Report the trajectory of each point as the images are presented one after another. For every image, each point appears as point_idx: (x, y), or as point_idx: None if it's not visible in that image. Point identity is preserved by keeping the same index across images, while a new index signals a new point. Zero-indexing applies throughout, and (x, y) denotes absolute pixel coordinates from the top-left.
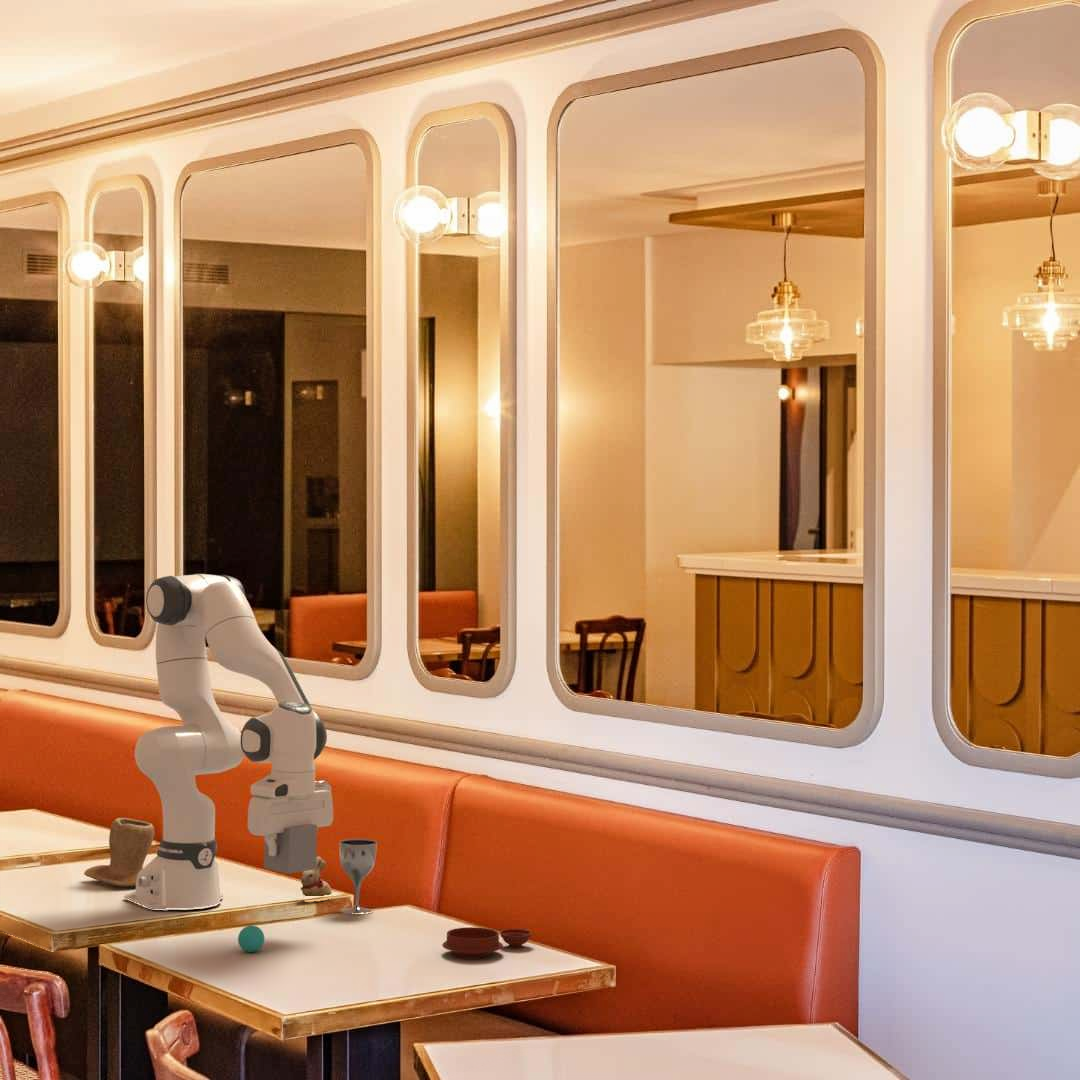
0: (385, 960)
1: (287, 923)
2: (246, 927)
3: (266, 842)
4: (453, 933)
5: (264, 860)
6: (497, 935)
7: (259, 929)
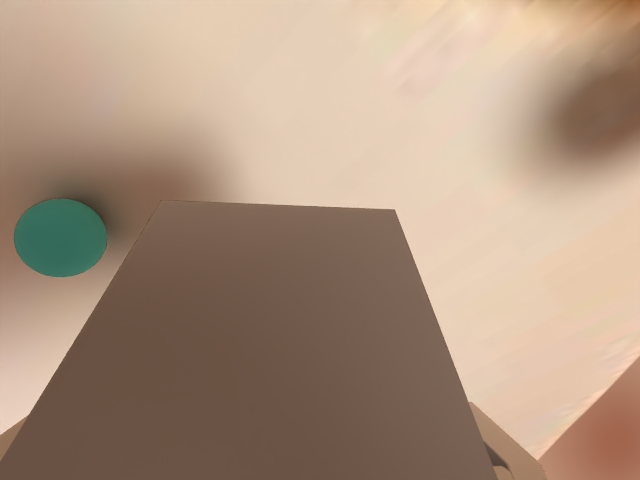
0: None
1: (435, 8)
2: (25, 252)
3: (10, 430)
4: None
5: (144, 230)
6: None
7: (67, 273)
